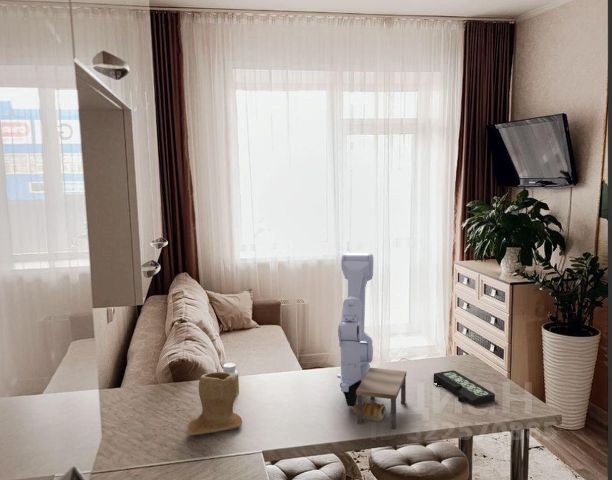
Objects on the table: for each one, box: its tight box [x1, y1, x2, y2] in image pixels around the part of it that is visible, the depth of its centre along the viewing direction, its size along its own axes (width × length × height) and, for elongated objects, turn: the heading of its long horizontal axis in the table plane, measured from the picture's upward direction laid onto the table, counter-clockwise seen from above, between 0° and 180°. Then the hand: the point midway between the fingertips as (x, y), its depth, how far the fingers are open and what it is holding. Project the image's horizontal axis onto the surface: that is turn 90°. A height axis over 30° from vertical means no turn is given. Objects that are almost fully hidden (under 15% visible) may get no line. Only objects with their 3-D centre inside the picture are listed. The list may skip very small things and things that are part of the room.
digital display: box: [433, 370, 496, 407], centre depth 165 cm, size 21×3×10 cm
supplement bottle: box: [222, 362, 240, 397], centre depth 166 cm, size 5×5×10 cm
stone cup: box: [187, 371, 243, 436], centre depth 144 cm, size 15×12×15 cm
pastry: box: [352, 401, 387, 422], centre depth 150 cm, size 9×7×4 cm
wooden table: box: [356, 367, 407, 430], centre depth 150 cm, size 18×11×10 cm, turn 160°
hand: (351, 405), depth 154 cm, fingers closed
